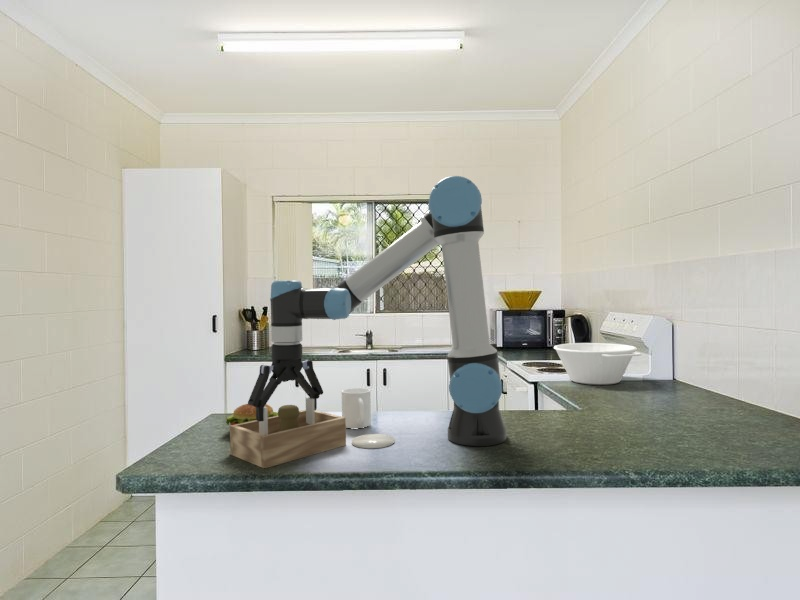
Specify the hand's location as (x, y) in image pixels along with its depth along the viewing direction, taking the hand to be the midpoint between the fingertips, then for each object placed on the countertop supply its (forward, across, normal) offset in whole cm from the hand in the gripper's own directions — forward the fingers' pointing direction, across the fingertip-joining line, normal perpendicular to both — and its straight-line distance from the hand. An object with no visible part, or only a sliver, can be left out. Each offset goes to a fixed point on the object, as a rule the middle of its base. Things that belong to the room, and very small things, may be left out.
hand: (287, 428), depth 132 cm
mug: (+5, -25, -3) cm, 26 cm away
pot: (+4, -136, +16) cm, 137 cm away
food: (+6, -3, -23) cm, 24 cm away
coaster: (+5, -18, +11) cm, 22 cm away
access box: (+5, 0, 0) cm, 5 cm away
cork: (+5, 0, 0) cm, 5 cm away
